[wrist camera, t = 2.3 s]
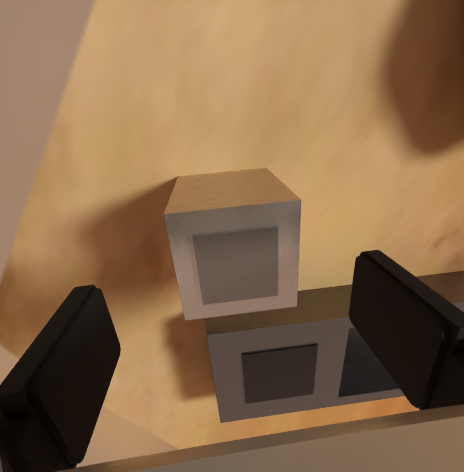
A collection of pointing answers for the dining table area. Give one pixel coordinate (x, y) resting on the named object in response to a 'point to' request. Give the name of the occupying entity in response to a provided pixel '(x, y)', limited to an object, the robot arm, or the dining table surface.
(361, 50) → the dining table surface
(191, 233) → the gray cube
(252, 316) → the grey tray with recess
